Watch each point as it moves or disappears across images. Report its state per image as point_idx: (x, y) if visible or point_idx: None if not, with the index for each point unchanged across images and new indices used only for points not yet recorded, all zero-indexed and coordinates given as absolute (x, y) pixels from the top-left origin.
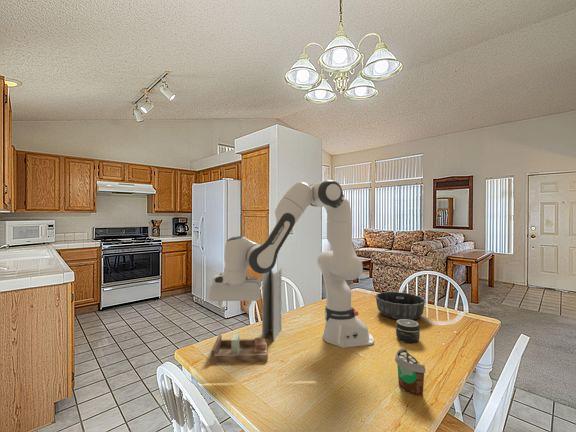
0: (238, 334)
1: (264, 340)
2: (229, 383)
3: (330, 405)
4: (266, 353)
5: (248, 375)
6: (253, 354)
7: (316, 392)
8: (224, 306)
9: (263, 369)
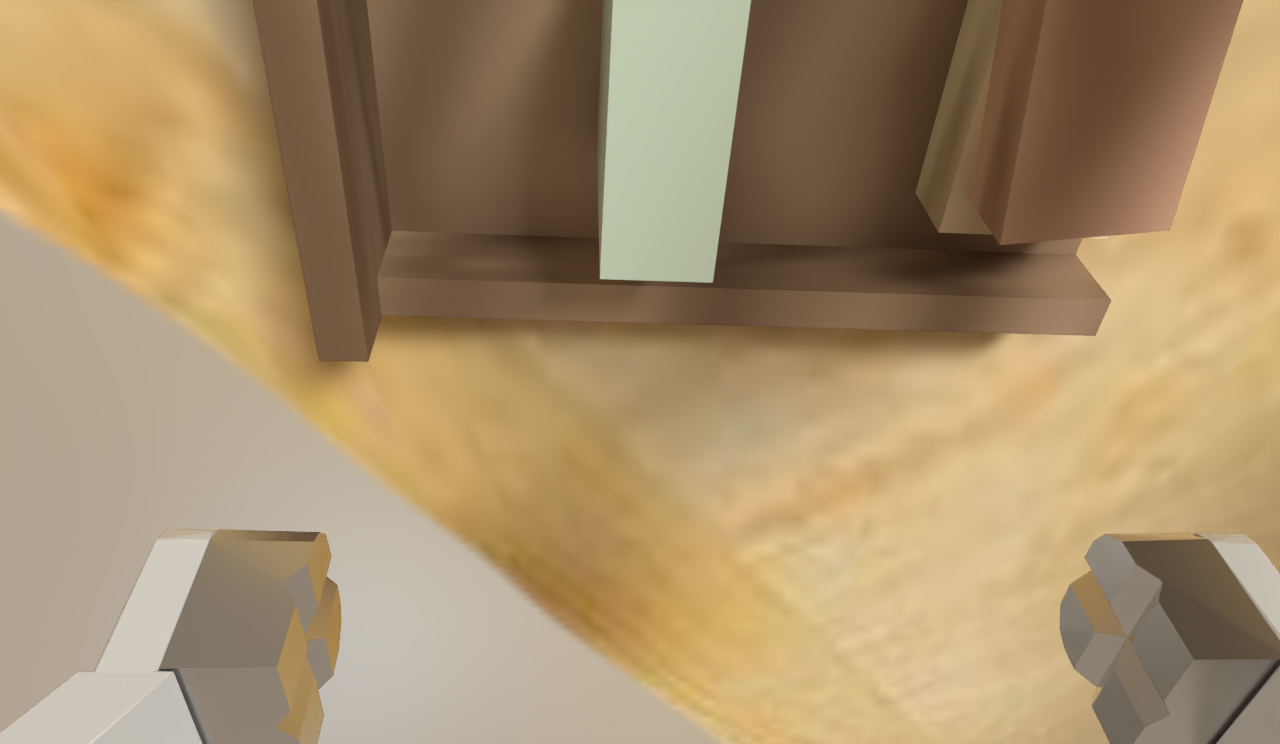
0: (729, 30)
1: (1207, 84)
2: (630, 547)
3: None
4: None
5: (802, 464)
6: (916, 310)
7: None
8: (236, 676)
9: (969, 388)
